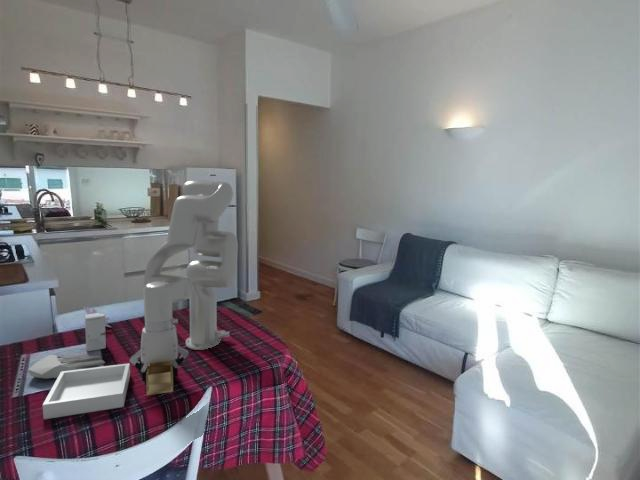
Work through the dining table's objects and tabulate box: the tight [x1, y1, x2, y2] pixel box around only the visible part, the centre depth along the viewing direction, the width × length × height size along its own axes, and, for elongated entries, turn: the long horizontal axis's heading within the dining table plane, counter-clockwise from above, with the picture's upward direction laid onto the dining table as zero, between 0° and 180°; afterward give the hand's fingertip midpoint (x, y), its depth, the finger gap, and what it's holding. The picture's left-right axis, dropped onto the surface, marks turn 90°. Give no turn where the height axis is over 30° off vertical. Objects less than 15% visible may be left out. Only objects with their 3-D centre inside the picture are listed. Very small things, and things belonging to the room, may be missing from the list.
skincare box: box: [84, 312, 107, 352], centre depth 134 cm, size 6×4×12 cm
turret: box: [27, 354, 106, 380], centre depth 119 cm, size 10×20×5 cm, turn 135°
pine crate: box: [145, 361, 174, 396], centre depth 114 cm, size 7×11×6 cm, turn 21°
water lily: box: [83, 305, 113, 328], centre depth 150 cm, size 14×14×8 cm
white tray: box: [42, 362, 131, 420], centre depth 107 cm, size 18×17×4 cm
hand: (160, 379), depth 114 cm, fingers closed on pine crate, 7 cm apart
